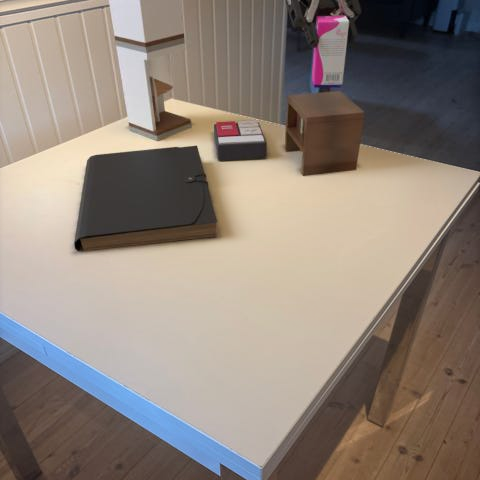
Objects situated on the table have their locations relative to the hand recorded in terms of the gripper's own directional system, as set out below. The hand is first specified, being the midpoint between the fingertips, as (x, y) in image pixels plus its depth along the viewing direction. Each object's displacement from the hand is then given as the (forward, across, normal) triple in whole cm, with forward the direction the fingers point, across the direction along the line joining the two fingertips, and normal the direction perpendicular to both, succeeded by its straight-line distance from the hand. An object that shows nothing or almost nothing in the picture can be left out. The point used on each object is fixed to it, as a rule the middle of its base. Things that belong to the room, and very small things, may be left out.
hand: (334, 43), depth 92 cm
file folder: (+19, -40, +15) cm, 47 cm away
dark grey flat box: (+6, -14, +27) cm, 31 cm away
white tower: (-7, -28, +41) cm, 50 cm away
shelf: (+16, 0, +18) cm, 23 cm away
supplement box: (+4, 0, +6) cm, 8 cm away
